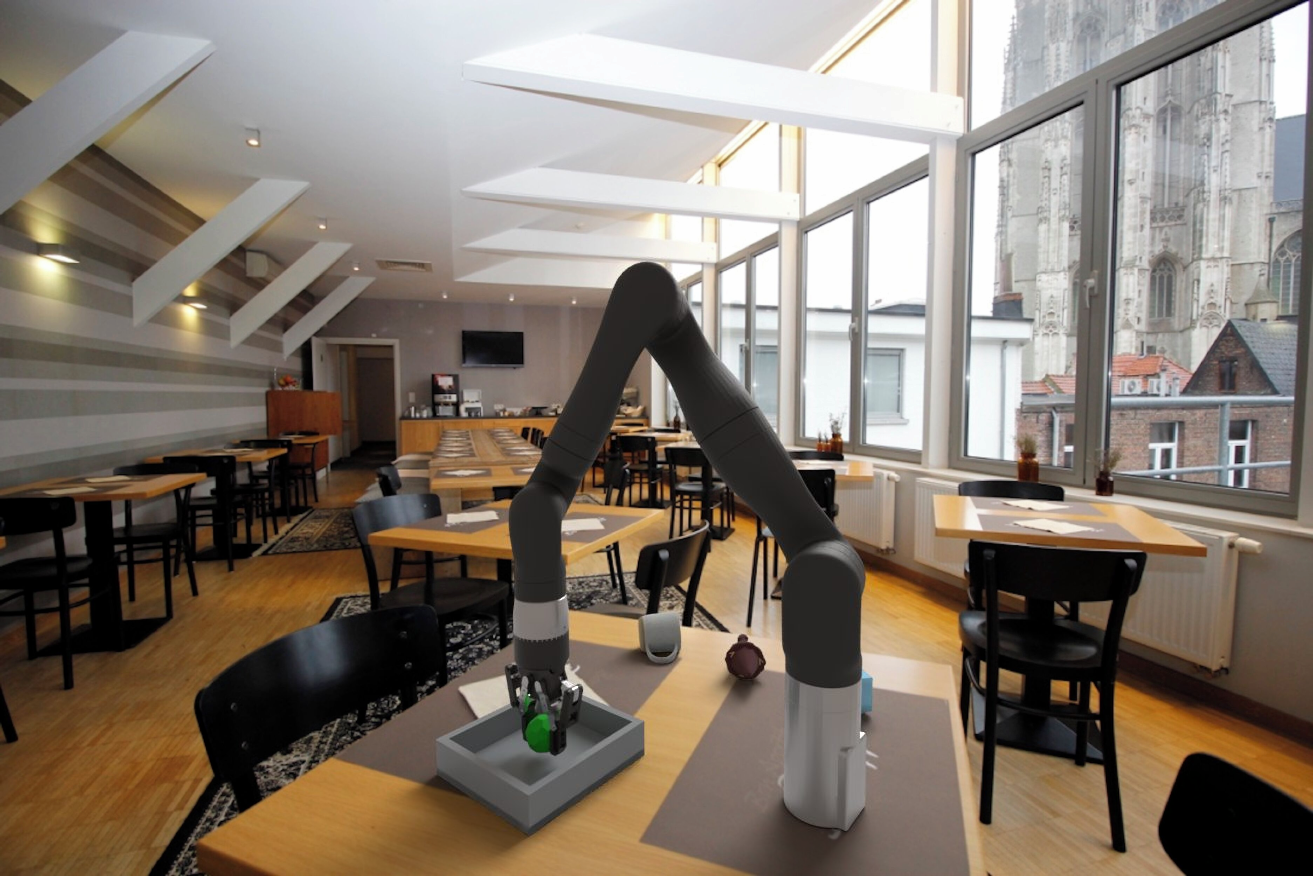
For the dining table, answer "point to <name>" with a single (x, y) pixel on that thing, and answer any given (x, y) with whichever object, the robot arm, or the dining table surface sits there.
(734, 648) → the icecream
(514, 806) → the crate
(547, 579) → the robot arm
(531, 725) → the polyhedron
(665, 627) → the ceramic mug
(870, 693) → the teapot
